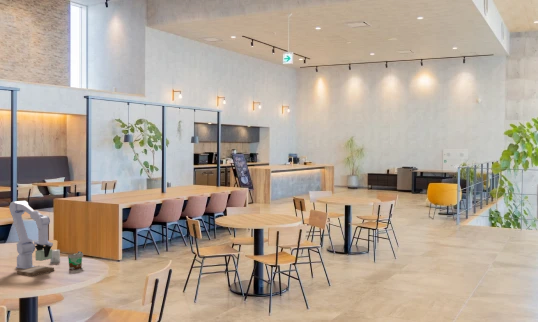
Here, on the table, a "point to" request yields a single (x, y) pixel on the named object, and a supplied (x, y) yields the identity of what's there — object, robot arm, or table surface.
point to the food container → (75, 261)
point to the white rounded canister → (55, 256)
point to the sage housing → (41, 256)
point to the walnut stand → (35, 270)
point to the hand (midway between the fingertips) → (43, 256)
